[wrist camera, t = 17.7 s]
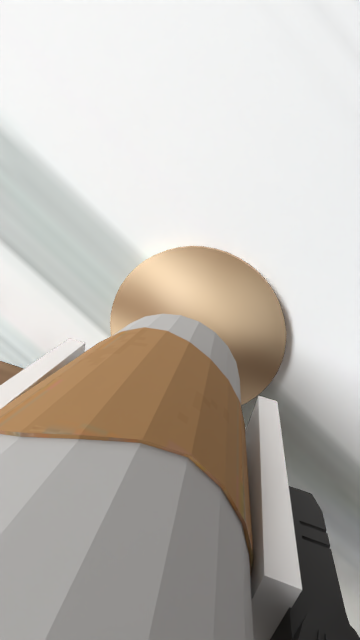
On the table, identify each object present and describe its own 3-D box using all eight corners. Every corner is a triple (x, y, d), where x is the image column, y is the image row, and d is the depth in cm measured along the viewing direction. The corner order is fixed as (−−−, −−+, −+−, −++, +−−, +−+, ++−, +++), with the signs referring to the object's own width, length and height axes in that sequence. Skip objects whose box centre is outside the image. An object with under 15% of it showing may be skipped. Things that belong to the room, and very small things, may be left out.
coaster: (126, 226, 18) (122, 227, 18) (313, 272, 17) (315, 274, 16) (105, 380, 22) (101, 384, 22) (254, 428, 21) (254, 434, 20)
